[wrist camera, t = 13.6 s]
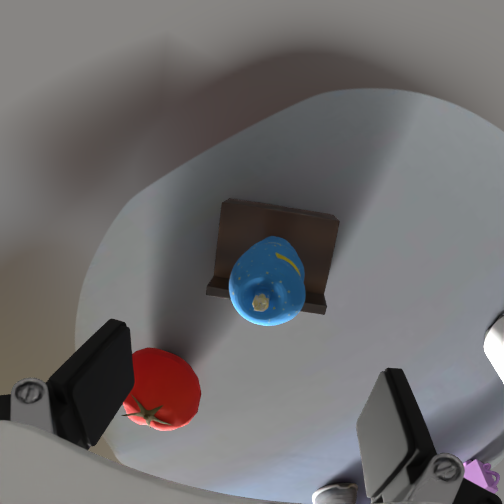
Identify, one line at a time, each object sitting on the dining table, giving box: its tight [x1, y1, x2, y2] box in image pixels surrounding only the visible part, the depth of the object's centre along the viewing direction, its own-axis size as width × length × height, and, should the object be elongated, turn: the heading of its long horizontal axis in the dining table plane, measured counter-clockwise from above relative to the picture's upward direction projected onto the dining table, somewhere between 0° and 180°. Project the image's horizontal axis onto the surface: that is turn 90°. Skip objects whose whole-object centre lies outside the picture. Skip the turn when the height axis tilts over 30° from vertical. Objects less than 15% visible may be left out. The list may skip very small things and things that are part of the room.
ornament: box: [229, 236, 306, 326], centre depth 24 cm, size 5×5×15 cm
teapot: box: [463, 459, 500, 493], centre depth 39 cm, size 20×10×12 cm, turn 141°
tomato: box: [121, 348, 201, 430], centre depth 37 cm, size 12×12×11 cm
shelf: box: [206, 198, 339, 315], centre depth 32 cm, size 9×12×7 cm
